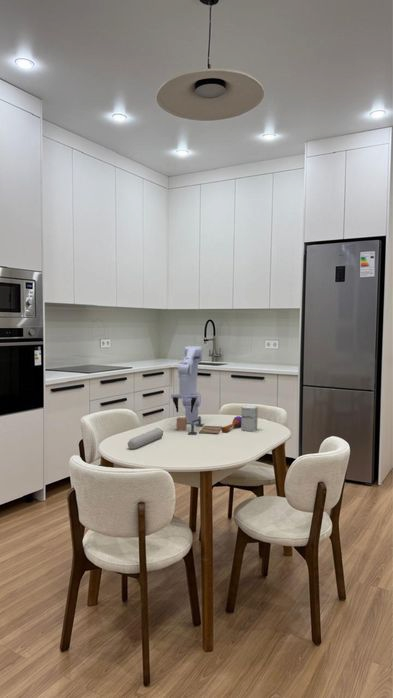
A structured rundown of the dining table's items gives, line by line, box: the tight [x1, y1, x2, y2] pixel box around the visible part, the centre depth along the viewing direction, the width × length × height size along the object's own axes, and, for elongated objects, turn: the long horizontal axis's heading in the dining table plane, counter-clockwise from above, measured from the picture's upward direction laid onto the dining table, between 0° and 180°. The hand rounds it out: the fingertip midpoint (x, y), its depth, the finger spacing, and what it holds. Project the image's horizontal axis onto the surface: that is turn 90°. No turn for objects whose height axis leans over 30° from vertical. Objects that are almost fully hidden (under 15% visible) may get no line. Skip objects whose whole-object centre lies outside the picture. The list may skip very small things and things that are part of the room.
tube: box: [127, 427, 164, 450], centre depth 225 cm, size 5×5×25 cm
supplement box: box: [240, 404, 259, 432], centre depth 254 cm, size 7×7×13 cm
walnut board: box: [198, 425, 223, 435], centre depth 253 cm, size 16×10×1 cm, turn 169°
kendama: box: [220, 415, 241, 434], centre depth 256 cm, size 6×6×20 cm
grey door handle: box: [187, 415, 205, 436], centre depth 254 cm, size 24×4×5 cm, turn 169°
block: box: [176, 416, 187, 431], centre depth 255 cm, size 4×4×6 cm
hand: (184, 412), depth 253 cm, fingers open, 7 cm apart
